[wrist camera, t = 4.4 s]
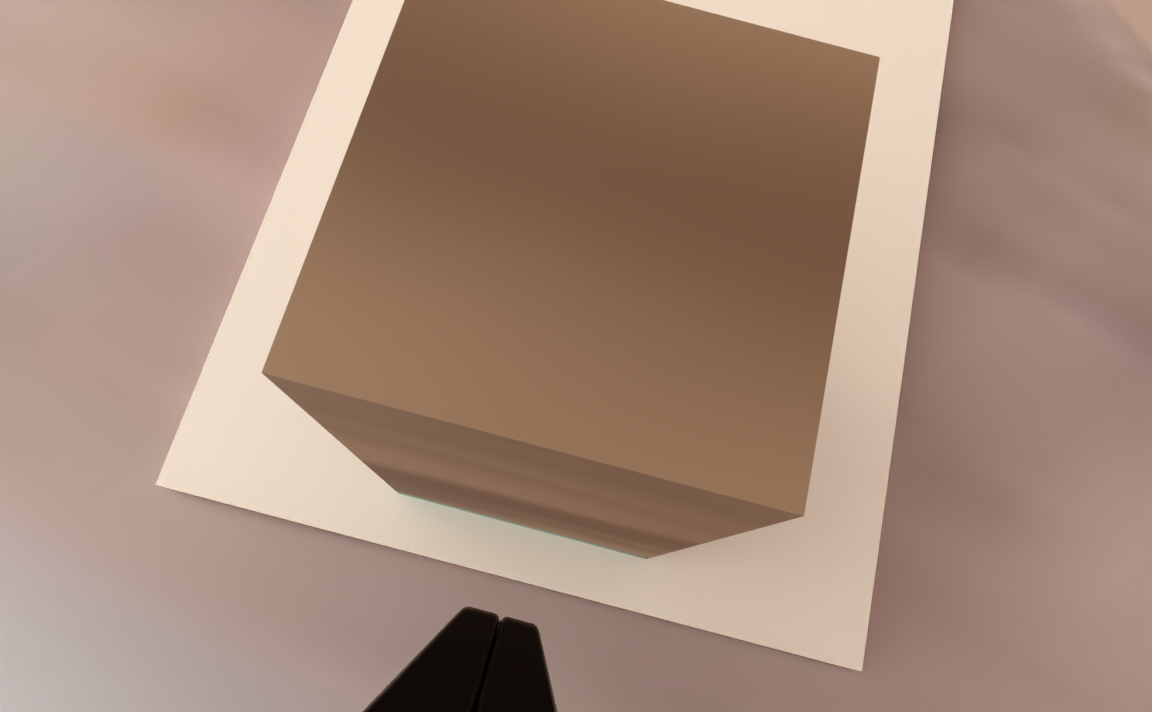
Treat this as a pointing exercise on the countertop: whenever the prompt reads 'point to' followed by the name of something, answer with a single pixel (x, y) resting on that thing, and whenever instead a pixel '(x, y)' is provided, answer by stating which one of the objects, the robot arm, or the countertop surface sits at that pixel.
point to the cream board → (648, 586)
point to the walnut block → (586, 267)
